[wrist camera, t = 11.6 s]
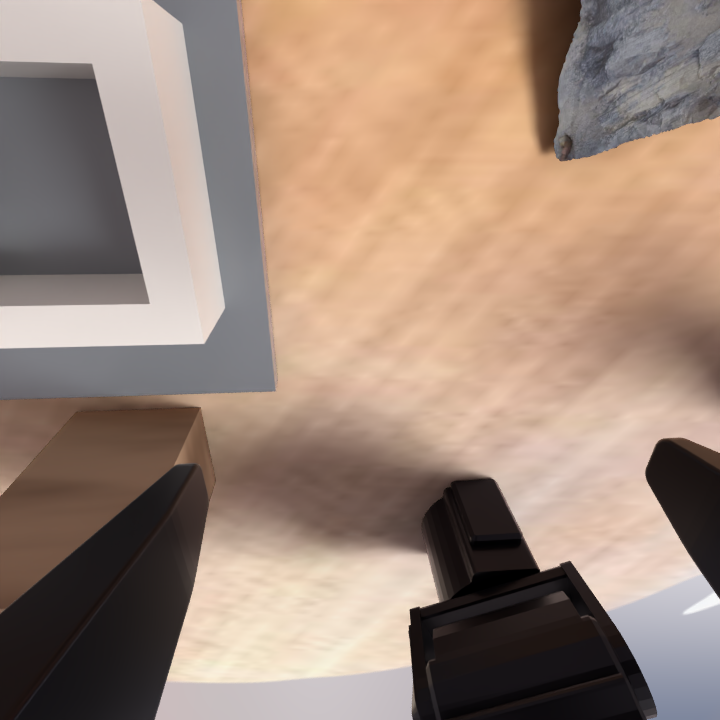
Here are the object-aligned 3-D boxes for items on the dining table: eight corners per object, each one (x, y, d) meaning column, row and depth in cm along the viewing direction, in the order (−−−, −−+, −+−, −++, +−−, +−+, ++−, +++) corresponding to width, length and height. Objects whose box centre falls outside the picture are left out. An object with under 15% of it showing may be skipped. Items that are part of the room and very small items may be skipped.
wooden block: (215, 480, 23) (150, 687, 15) (104, 486, 23) (-31, 702, 14) (200, 407, 21) (112, 601, 12) (76, 411, 21) (-107, 616, 12)
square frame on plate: (277, 380, 21) (266, 438, 17) (-23, 389, 20) (-111, 453, 16) (226, -151, 12) (178, -291, 8) (-310, -184, 11) (-664, -363, 7)
